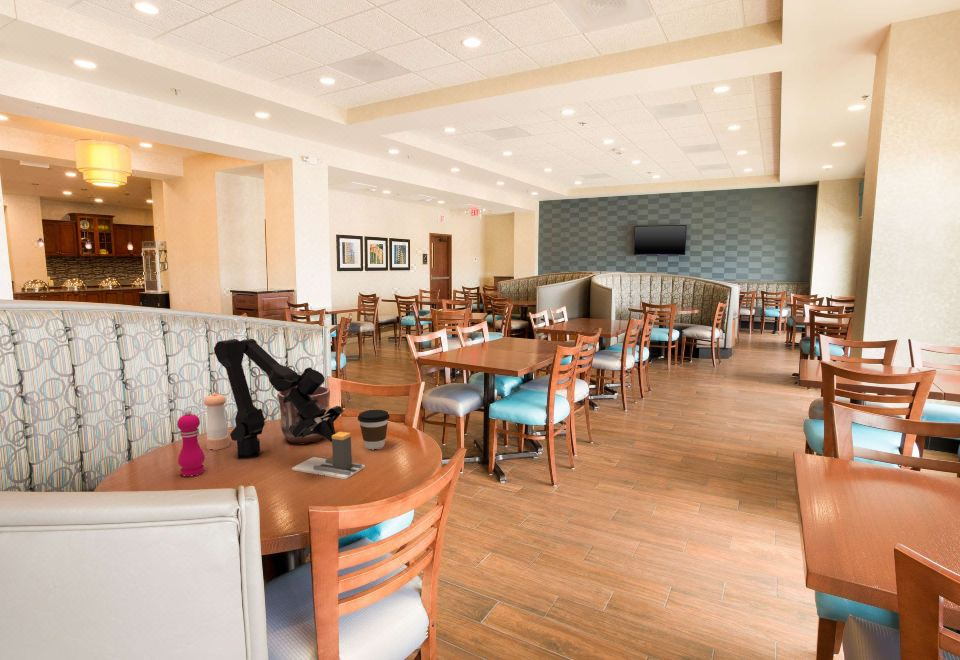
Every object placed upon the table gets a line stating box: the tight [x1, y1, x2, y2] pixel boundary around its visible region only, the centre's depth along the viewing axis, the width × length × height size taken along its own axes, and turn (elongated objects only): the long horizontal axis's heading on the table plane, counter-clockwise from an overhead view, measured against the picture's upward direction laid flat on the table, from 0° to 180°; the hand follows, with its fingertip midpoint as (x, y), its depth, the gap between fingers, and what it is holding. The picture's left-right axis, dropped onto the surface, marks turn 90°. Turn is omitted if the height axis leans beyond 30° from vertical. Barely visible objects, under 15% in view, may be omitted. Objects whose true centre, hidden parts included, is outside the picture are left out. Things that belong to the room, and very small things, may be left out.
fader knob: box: [331, 431, 353, 470], centre depth 161 cm, size 4×4×11 cm
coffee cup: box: [357, 409, 391, 451], centre depth 182 cm, size 11×11×12 cm
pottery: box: [277, 385, 331, 445], centre depth 191 cm, size 18×18×18 cm
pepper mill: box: [176, 409, 206, 476], centre depth 160 cm, size 7×7×20 cm
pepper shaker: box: [203, 392, 231, 451], centre depth 184 cm, size 7×7×19 cm
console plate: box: [291, 456, 366, 480], centre depth 164 cm, size 20×10×2 cm, turn 68°
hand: (335, 442), depth 162 cm, fingers closed
